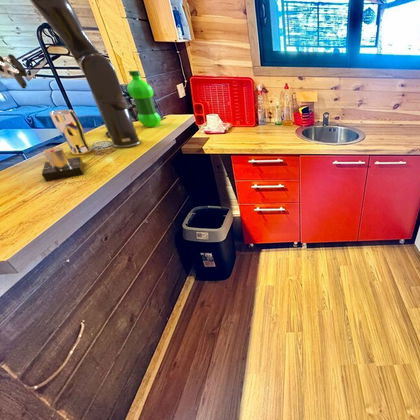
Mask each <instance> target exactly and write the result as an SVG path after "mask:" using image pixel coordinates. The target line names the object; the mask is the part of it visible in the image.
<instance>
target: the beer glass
mask: <svg viewBox="0 0 420 420" xmlns="http://www.w3.org/2000/svg"><path fill="white" fill-rule="evenodd" d="M49 116H50V118H51V120H52V123H53V125H54V127H55V128H56V129H57V131H58V133H59V134H60V135H61V137H63V139H64V140H65V141H66V143H67V145H68V147H69V150H70V153H71V154H72V155H84V154H88V153H90V152H92V148H91V147H90V145H89V143H88V142H87V139H86V137H85V133H84V129H83V126H82V124H81V122H80V120H79V117H78V116H77V114H76V112H75V111H74V110H73V109H60V110H59V109H57V110H53V111H50V112H49Z"/></svg>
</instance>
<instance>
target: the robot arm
mask: <svg viewBox="0 0 420 420" xmlns="http://www.w3.org/2000/svg"><path fill="white" fill-rule="evenodd" d="M29 1H30V2H31V4H32V6H34V8H35V9H36V10H37V11H38V13H39V15H41V16H42V18H43V19H44V21H46V22H47V24H48V25H49V26H50V27H51V29H52V30H54V32H55V33H56V35H58V36H59V38H60V39H61V41H62V42H63V43H64V45H66V47H67V49H68V50H69V52H70V54H71V55H72V57H73V59H74V60H75V62H76V63H77V66H78V67H79V69H80V71H81V73H82V74H83V75H84V77H85V79H86V82H87V84H88V87H89V89H90V92H91V95H92V98H93V100H94V102H95V105H96V107H97V110H98V112H99V114H100V116H101V119H102V121H101V122H100V125H104V126H105V128H106V130H107V131H106V132H105V134H104V135H105V136H106V137H108V138H110V140H111V142H112V145H113V147H114V148H121V149H122V148H130V147H135V146H137V145H140V143H141V140H140V139H139V137H138V133H137V130H136V127H135V125H134V122H133V119H132V116H131V113H130V111H129V108H128V106H127V103H126V100H125V98H124V94H123V89H122V86H121V84H120V83H121V82H120V81H119V77H118V75H117V72H116V69H115V67H114V65H113V63H112V62H111V61H110V60H109V58H107V57H105V56H103V55H102V53H100V51H99V50H98V49H97V47H96V46H95V45H94V44H93V42H92V41H91V39H90V38H89V36H88V35H87V33H86V32H85V30H84V28H83V26H82V24H81V21H80V20H79V17H78V16H77V13H76V11H75V10H74V8H73V5H72V4H71V3H70V1H69V0H29ZM12 66H13V67H12ZM0 73H2V74H4V75H7V76H10V77H13V78H14V79H15V81H16V82H17V84H18V85H19V86H20V87H21V88H22V90H23V89H27V87H28V85H27V81H26V80H25V79H24V77H28V74H27V70H26V68H25V67H24V66H23V64H22V63H21V62H20V60H18V58H17V57H16V56H15V55H13V54H10V53H9V54H8V55H7V56H1V55H0Z"/></svg>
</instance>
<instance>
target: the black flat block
mask: <svg viewBox="0 0 420 420" xmlns="http://www.w3.org/2000/svg"><path fill="white" fill-rule="evenodd" d="M67 159H68V161H69V162H70V164H71V165H70V166H68V167H65V168H61V169H54V168H52V166H51V164H50V163H49V161H45V162H44V165H43V168H42V171H41V176H42V177H43V179H44V181H46V182H49V181H54V180H55V181H56V180H61V179H66V178H71V177H77V176H83V175H84V162H83V160H82V158H81V156H76V157H70V158H67Z"/></svg>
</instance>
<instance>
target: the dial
mask: <svg viewBox="0 0 420 420" xmlns="http://www.w3.org/2000/svg"><path fill="white" fill-rule="evenodd" d="M42 152H43V154H44V156H45V158H46V159H47V162H49V163H50V164H51V166H52V168H54V169H61V168H65V167H68V166H70V165H71V164H70V162H69V161H68V159H69V158H68V157H67V155H66V153H65V152H64V150H63V148H62V147H50V148H46V149H44V150H42Z"/></svg>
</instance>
